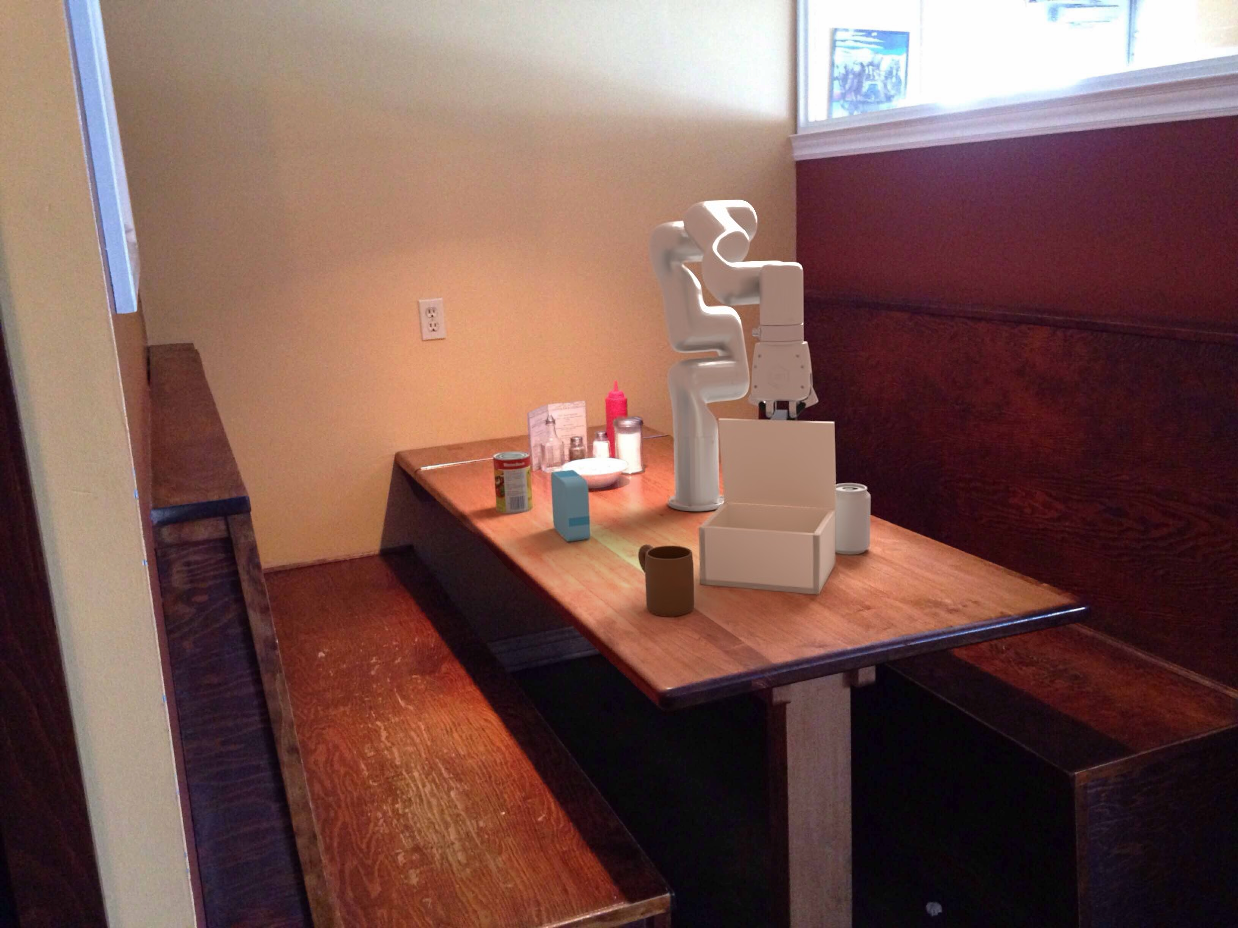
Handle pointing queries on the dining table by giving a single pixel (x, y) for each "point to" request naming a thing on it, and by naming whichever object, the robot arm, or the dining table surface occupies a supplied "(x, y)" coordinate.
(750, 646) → the dining table surface
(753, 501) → the flap
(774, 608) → the dining table surface
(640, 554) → the mug
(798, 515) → the mailer box
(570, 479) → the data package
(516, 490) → the canned food
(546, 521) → the dining table surface
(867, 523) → the can
